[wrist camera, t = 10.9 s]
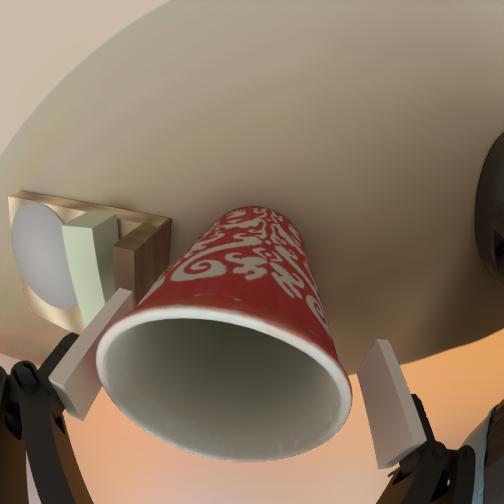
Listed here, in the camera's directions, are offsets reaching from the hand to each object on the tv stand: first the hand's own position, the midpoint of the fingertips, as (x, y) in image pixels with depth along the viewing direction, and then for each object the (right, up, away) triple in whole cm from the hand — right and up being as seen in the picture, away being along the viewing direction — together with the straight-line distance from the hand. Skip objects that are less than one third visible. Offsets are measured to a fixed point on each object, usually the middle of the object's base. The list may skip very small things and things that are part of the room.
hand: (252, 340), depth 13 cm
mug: (+1, +3, +7) cm, 8 cm away
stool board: (-16, +3, +9) cm, 19 cm away
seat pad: (-20, +4, +7) cm, 21 cm away
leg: (-11, +1, +7) cm, 13 cm away
